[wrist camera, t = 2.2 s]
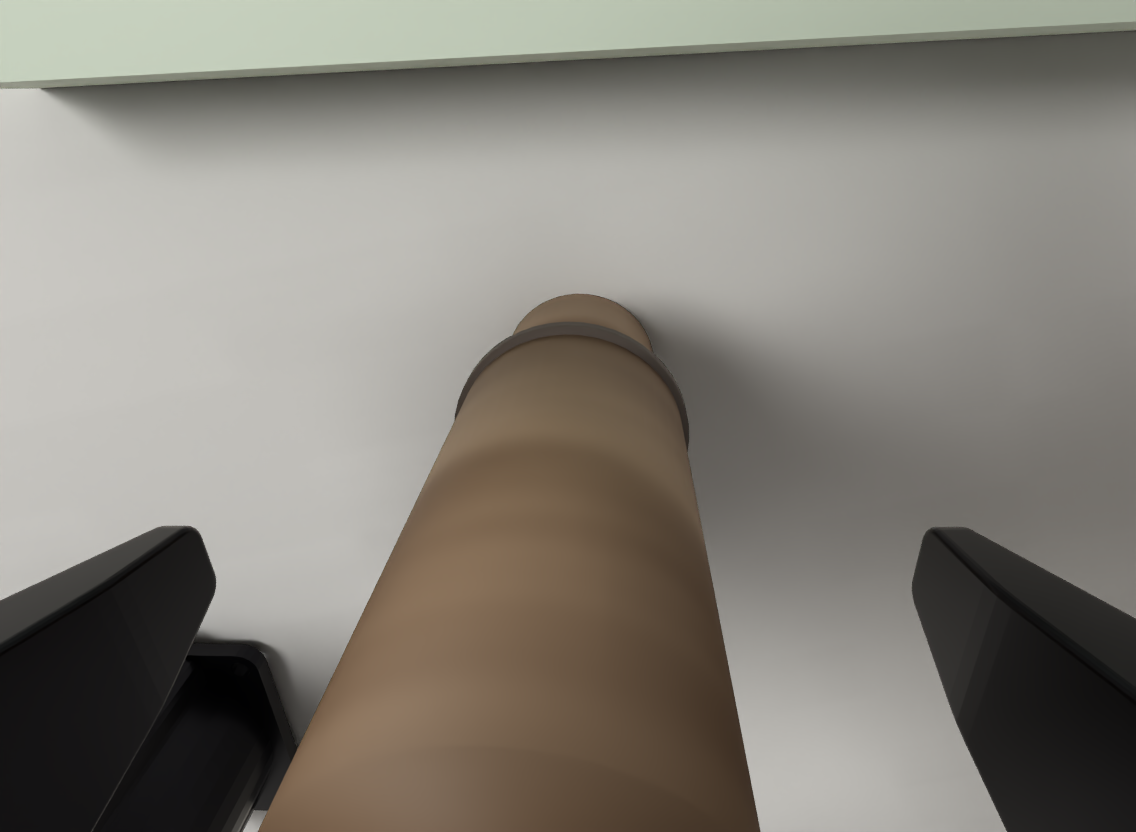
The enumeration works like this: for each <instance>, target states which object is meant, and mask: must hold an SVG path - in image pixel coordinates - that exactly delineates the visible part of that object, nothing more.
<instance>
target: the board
mask: <svg viewBox="0 0 1136 832" xmlns="http://www.w3.org/2000/svg"><path fill="white" fill-rule="evenodd" d="M1131 30H1136V0H0V89H15V88H52V87H71V86H90V85H109V84H128V83H147V82H165V81H184V80H203V79H222V78H241V77H260V76H279V75H298V74H317V73H336V72H355V71H374V70H393V69H412V68H431V67H449V66H468V65H487V64H506V63H525V62H544V61H563V60H582V59H601V58H620V57H639V56H658V55H677V54H696V53H715V52H734V51H752V50H771V49H790V48H809V47H828V46H847V45H866V44H885V43H904V42H923V41H942V40H961V39H980V38H999V37H1018V36H1037V35H1055V34H1074V33H1093V32H1112V31H1131Z"/></svg>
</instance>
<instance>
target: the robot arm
mask: <svg viewBox="0 0 1136 832" xmlns="http://www.w3.org/2000/svg"><path fill="white" fill-rule="evenodd" d="M215 589H216V576H215V573H214V570H213V567H212V564H211V562H210V559H209V556H208V553H207V551H206V548H205V545H204V542H203V539H202V537H201V535H200V533H199V532H198V531H197V529H195V528H193V527H191V526H161V527H157V528H155V529H153V530H151V531H149V532H146V533H144V534H142V535H140V536H138V537H136V538H133V539H131V540H129V541H127V542H125V543H123V544H121V545H118V546H116V547H114V548H112V549H110V550H108V551H106V552H103V553H101V554H99V555H97V556H95V557H93V558H91V559H88V560H86V561H84V562H82V563H80V564H78V565H76V566H73V567H71V568H69V569H67V570H65V571H63V572H61V573H58V574H56V575H54V576H52V577H50V578H48V579H46V580H43V581H41V582H39V583H37V584H35V585H33V586H31V587H28V588H26V589H24V590H22V591H20V592H18V593H16V594H13V595H11V596H9V597H7V598H5V599H3V600H0V832H243V830H244V828H245V826H246V824H247V822H248V820H249V818H250V816H251V814H252V812H253V810H269V808H270V805H271V803H272V801H273V799H274V797H275V795H276V793H277V791H278V789H279V787H280V785H281V782H282V780H283V778H284V776H285V774H286V772H287V770H288V768H289V766H290V764H291V762H292V760H293V757H294V755H295V753H296V751H297V748H296V745H295V742H294V739H293V736H292V734H291V731H290V728H289V725H288V722H287V719H286V716H285V713H284V710H283V708H282V705H281V702H280V699H279V696H278V693H277V690H276V687H275V684H274V682H273V679H272V676H271V673H270V670H269V667H268V664H267V661H266V658H265V657H264V655H263V654H262V653H261V652H260V651H259V650H258V649H256V648H254V647H252V646H249V645H242V644H192V643H193V641H194V639H195V636H196V634H197V632H198V630H199V628H200V625H201V623H202V621H203V619H204V617H205V614H206V612H207V610H208V608H209V605H210V603H211V601H212V599H213V596H214V593H215ZM912 595H913V600H914V604H915V607H916V609H917V612H918V615H919V618H920V621H921V624H922V627H923V630H924V633H925V636H926V638H927V641H928V644H929V647H930V650H931V653H932V656H933V659H934V662H935V665H936V667H937V670H938V673H939V676H940V679H941V682H942V685H943V688H944V691H945V693H946V696H947V699H948V702H949V705H950V707H951V710H952V713H953V715H954V718H955V721H956V723H957V725H958V728H959V730H960V732H961V735H962V737H963V739H964V741H965V744H966V746H967V748H968V750H969V752H970V754H971V756H972V758H973V761H974V763H975V765H976V767H977V769H978V771H979V773H980V775H981V778H982V780H983V782H984V784H985V786H986V788H987V790H988V792H989V794H990V797H991V799H992V801H993V803H994V805H995V807H996V809H997V811H998V814H999V816H1000V818H1001V820H1002V822H1003V824H1004V826H1005V828H1006V831H1007V832H1136V619H1135V618H1134V617H1132V616H1130V615H1128V614H1126V613H1124V612H1122V611H1121V610H1119V609H1117V608H1115V607H1113V606H1111V605H1109V604H1108V603H1106V602H1104V601H1102V600H1100V599H1098V598H1097V597H1095V596H1093V595H1091V594H1089V593H1087V592H1085V591H1084V590H1082V589H1080V588H1078V587H1076V586H1074V585H1072V584H1071V583H1069V582H1067V581H1065V580H1063V579H1061V578H1059V577H1058V576H1056V575H1054V574H1052V573H1050V572H1048V571H1047V570H1045V569H1043V568H1041V567H1039V566H1037V565H1035V564H1034V563H1032V562H1030V561H1028V560H1026V559H1024V558H1022V557H1021V556H1019V555H1017V554H1015V553H1013V552H1011V551H1010V550H1008V549H1006V548H1004V547H1002V546H1000V545H998V544H997V543H995V542H993V541H991V540H989V539H987V538H985V537H984V536H982V535H980V534H978V533H976V532H974V531H973V530H971V529H968V528H964V527H932V528H931V529H929V530H927V532H926V533H925V535H924V537H923V540H922V544H921V548H920V552H919V556H918V560H917V565H916V569H915V573H914V577H913V582H912Z"/></svg>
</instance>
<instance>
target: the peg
mask: <svg viewBox="0 0 1136 832" xmlns="http://www.w3.org/2000/svg"><path fill="white" fill-rule="evenodd" d="M688 443H689V425H688V419H687V414H686V409H685V404H684V401H683V398H682V395H681V392H680V389H679V387H678V386H677V384H676V382H675V380H674V378H673V376H672V375H671V373H670V372H669V371H668V369H667V368H666V366H665V365H664V364H663V363H662V362H661V361H660V360H659V359H658V358H657V356H656V355H655V354H654V353H653V351H652V346H651V344H650V341H649V338H648V336H647V334H646V332H645V330H644V328H643V327H642V326H641V324H640V323H639V321H638V320H637V319H636V318H635V317H634V316H633V315H632V314H631V313H630V312H628V311H627V310H626V309H625V308H623V307H622V306H620V305H618V304H617V303H615V302H612V301H610V300H608V299H605V298H602V297H599V296H594V295H588V294H571V295H564V296H560V297H556V298H553V299H551V300H548V301H546V302H544V303H542V304H540V305H539V306H537V307H536V308H534V309H533V310H532V311H531V312H529V313H528V314H527V315H526V316H525V317H524V318H523V320H522V321H521V322H520V323H519V325H518V326H517V328H516V330H515V331H514V333H513V335H512V336H510V337H508V338H506V339H505V340H503V341H502V342H501V343H499V344H498V345H496V346H495V347H494V348H493V349H491V350H490V351H489V352H488V353H487V354H486V355H485V356H484V357H483V358H482V359H481V361H480V362H479V363H478V364H477V366H476V367H475V368H474V370H473V371H472V373H471V375H470V377H469V378H468V380H467V382H466V384H465V386H464V388H463V390H462V393H461V395H460V398H459V400H458V404H457V409H456V413H455V422H454V424H453V426H452V428H451V430H450V432H449V434H448V436H447V438H446V440H445V442H444V444H443V447H442V449H441V451H440V453H439V455H438V457H437V459H436V461H435V463H434V465H433V467H432V469H431V472H430V474H429V476H428V478H427V480H426V482H425V484H424V486H423V488H422V490H421V492H420V495H419V497H418V499H417V501H416V503H415V505H414V507H413V509H412V511H411V513H410V515H409V517H408V520H407V522H406V524H405V526H404V528H403V530H402V532H401V534H400V536H399V538H398V540H397V543H396V545H395V547H394V549H393V551H392V553H391V555H390V557H389V559H388V561H387V563H386V565H385V568H384V570H383V572H382V574H381V576H380V578H379V580H378V582H377V584H376V586H375V588H374V591H373V593H372V595H371V597H370V599H369V601H368V603H367V605H366V607H365V609H364V611H363V613H362V616H361V618H360V620H359V622H358V624H357V626H356V628H355V630H354V632H353V634H352V636H351V639H350V641H349V643H348V645H347V647H346V649H345V651H344V653H343V655H342V657H341V659H340V661H339V664H338V666H337V668H336V670H335V672H334V674H333V676H332V678H331V680H330V682H329V684H328V686H327V689H326V691H325V693H324V695H323V697H322V699H321V701H320V703H319V705H318V707H317V709H316V712H315V714H314V716H313V718H312V720H311V722H310V724H309V726H308V728H307V730H306V732H305V734H304V737H303V739H302V741H301V743H300V745H299V747H298V749H297V751H296V753H295V755H294V757H293V760H292V762H291V764H290V766H289V768H288V770H287V772H286V774H285V776H284V778H283V780H282V782H281V785H280V787H279V789H278V791H277V793H276V795H275V797H274V799H273V801H272V803H271V805H270V808H269V810H268V812H267V814H266V816H265V818H264V820H263V822H262V824H261V826H260V828H259V830H258V832H760V827H759V822H758V817H757V812H756V806H755V801H754V796H753V791H752V786H751V780H750V775H749V770H748V765H747V760H746V754H745V749H744V744H743V739H742V734H741V728H740V723H739V718H738V713H737V708H736V702H735V697H734V692H733V687H732V682H731V676H730V671H729V666H728V661H727V656H726V651H725V645H724V640H723V635H722V630H721V625H720V619H719V614H718V609H717V604H716V599H715V593H714V588H713V583H712V578H711V573H710V567H709V562H708V557H707V552H706V547H705V541H704V536H703V531H702V526H701V521H700V515H699V510H698V505H697V500H696V495H695V490H694V484H693V479H692V474H691V469H690V464H689V458H688V453H687V452H688Z"/></svg>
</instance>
